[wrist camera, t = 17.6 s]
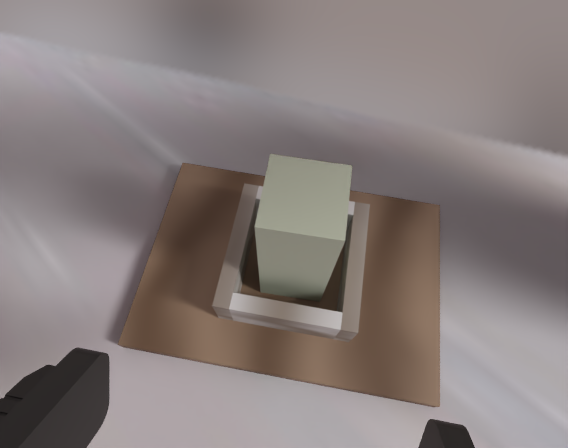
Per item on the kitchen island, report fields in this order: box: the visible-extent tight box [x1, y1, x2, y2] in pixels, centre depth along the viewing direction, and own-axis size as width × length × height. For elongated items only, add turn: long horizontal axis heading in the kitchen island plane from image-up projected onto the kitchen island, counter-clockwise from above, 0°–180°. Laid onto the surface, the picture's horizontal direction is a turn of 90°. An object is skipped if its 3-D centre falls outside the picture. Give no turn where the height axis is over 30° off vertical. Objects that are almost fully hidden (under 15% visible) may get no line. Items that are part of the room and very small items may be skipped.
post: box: [255, 154, 352, 302], centre depth 22 cm, size 4×4×10 cm
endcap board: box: [118, 163, 440, 407], centre depth 26 cm, size 20×14×4 cm
